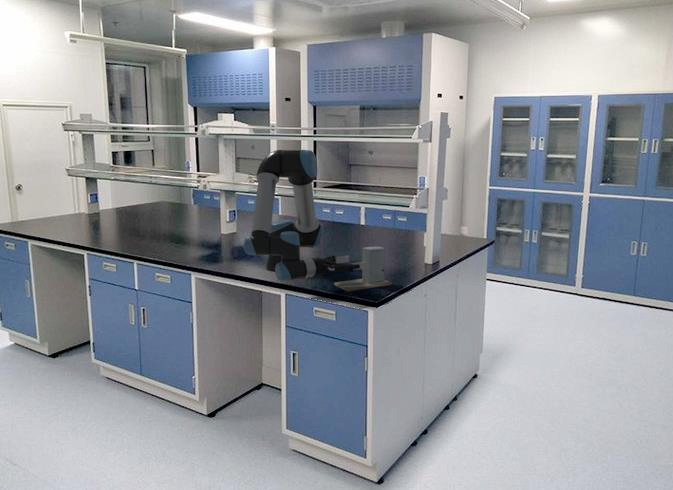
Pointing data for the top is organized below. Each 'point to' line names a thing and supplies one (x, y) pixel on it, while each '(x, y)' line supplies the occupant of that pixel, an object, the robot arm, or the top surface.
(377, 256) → the skincare box
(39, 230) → the top surface
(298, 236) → the robot arm
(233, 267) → the top surface
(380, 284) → the board
